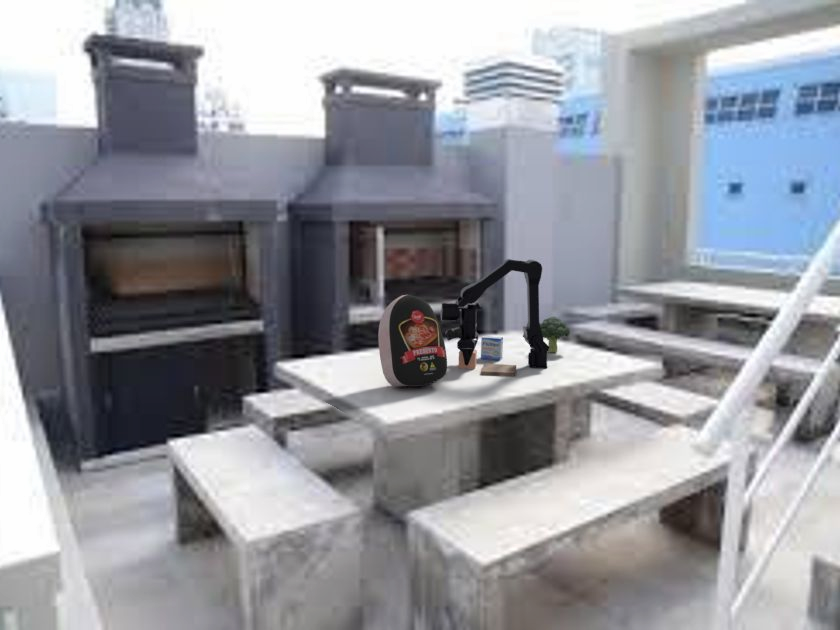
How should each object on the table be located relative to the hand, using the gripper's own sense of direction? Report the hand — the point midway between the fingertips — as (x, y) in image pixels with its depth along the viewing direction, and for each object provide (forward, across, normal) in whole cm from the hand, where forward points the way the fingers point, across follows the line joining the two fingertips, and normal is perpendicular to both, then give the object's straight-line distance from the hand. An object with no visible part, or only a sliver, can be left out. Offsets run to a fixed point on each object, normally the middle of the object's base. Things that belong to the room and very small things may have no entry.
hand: (467, 362), depth 255 cm
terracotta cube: (+2, 0, 0) cm, 2 cm away
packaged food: (+2, +29, -16) cm, 33 cm away
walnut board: (+2, +5, +12) cm, 13 cm away
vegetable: (+2, -31, +32) cm, 45 cm away
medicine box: (+2, -15, +8) cm, 17 cm away
